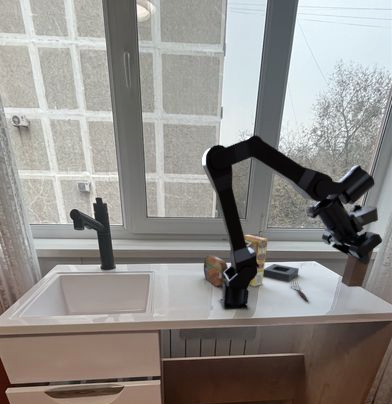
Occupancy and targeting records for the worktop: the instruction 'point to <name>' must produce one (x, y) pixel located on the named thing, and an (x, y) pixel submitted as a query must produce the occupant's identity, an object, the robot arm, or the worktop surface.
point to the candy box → (257, 255)
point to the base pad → (280, 272)
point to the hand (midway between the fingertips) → (362, 261)
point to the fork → (298, 289)
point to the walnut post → (355, 272)
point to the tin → (214, 270)
